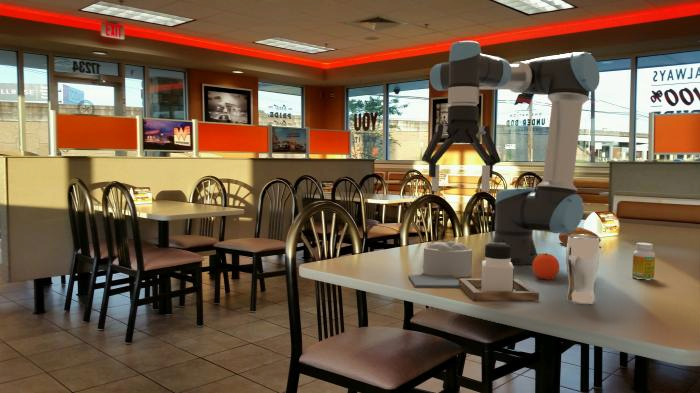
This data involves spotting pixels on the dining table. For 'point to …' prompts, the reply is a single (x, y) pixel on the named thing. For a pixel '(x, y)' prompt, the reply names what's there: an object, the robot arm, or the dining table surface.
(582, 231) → the croissant
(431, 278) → the mat
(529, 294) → the pocket
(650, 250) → the supplement bottle
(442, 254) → the lumpy-topped squat cylinder
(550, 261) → the clementine
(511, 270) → the medicine bottle
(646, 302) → the dining table surface
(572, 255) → the beer glass
